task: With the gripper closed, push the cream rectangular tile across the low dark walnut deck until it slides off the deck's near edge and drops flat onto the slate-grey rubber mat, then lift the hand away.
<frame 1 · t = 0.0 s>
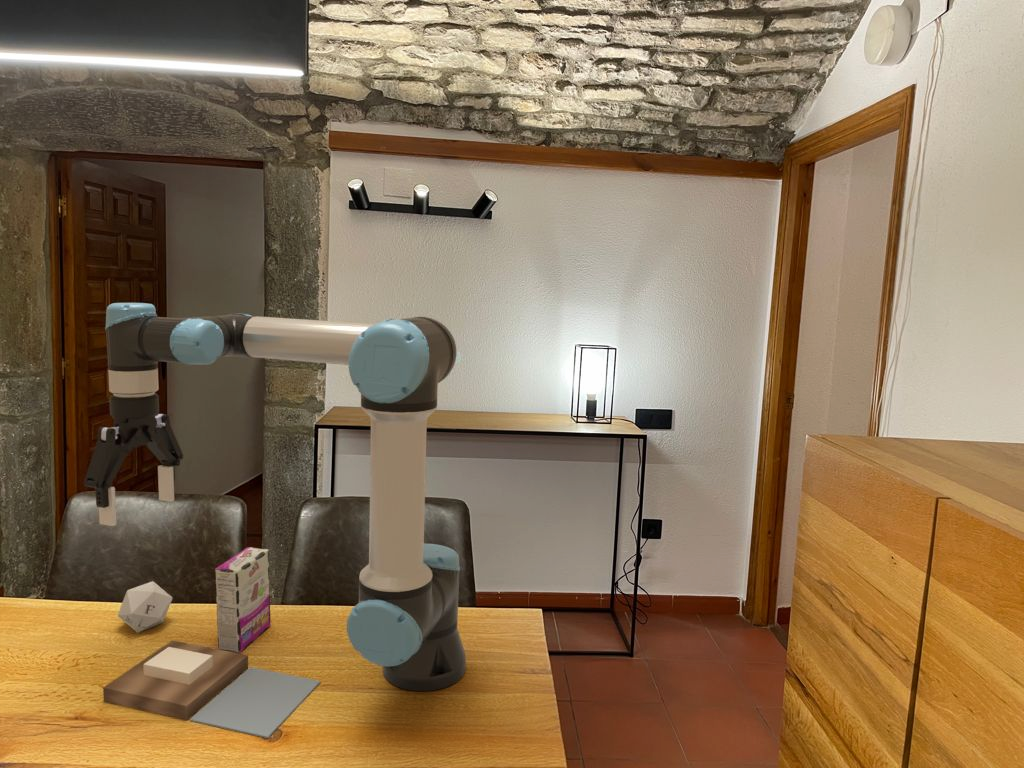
hand: (138, 512, 126), 28 cm above the table, fingers open, 13 cm apart
cream rectangular tile: (178, 670, 123), point 2 cm above the table, touching deck
deck: (179, 684, 123), on the table
mat: (258, 700, 119), on the table
candy bar box: (244, 638, 139), on the table
die: (146, 626, 142), on the table
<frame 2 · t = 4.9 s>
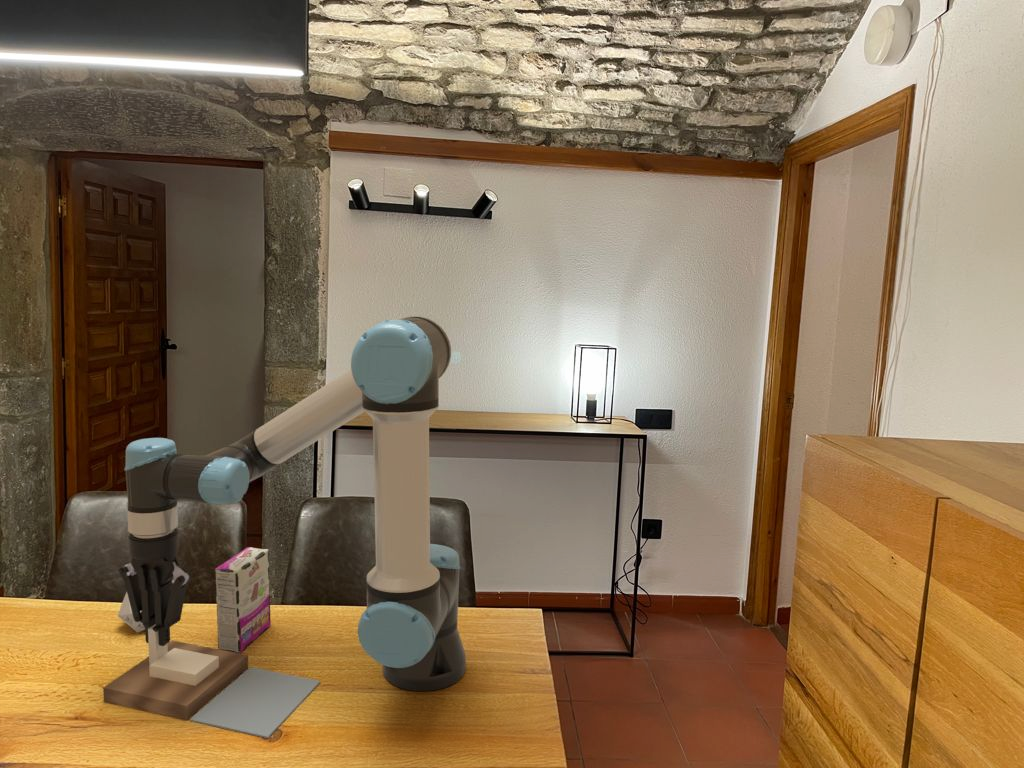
hand: (158, 660, 123), 4 cm above the table, fingers closed
cream rectangular tile: (184, 671, 122), point 3 cm above the table, touching deck
everything else where it was.
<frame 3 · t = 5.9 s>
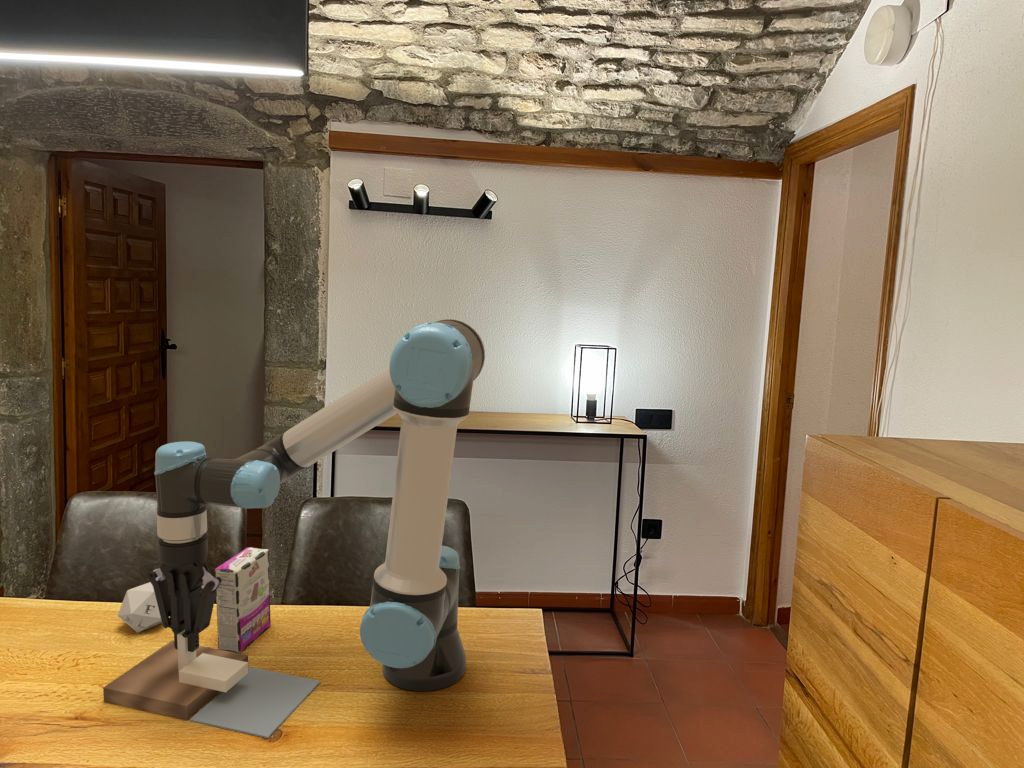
hand: (187, 666, 122), 4 cm above the table, fingers closed
cream rectangular tile: (214, 677, 121), point 3 cm above the table, touching gripper
everything else where it was.
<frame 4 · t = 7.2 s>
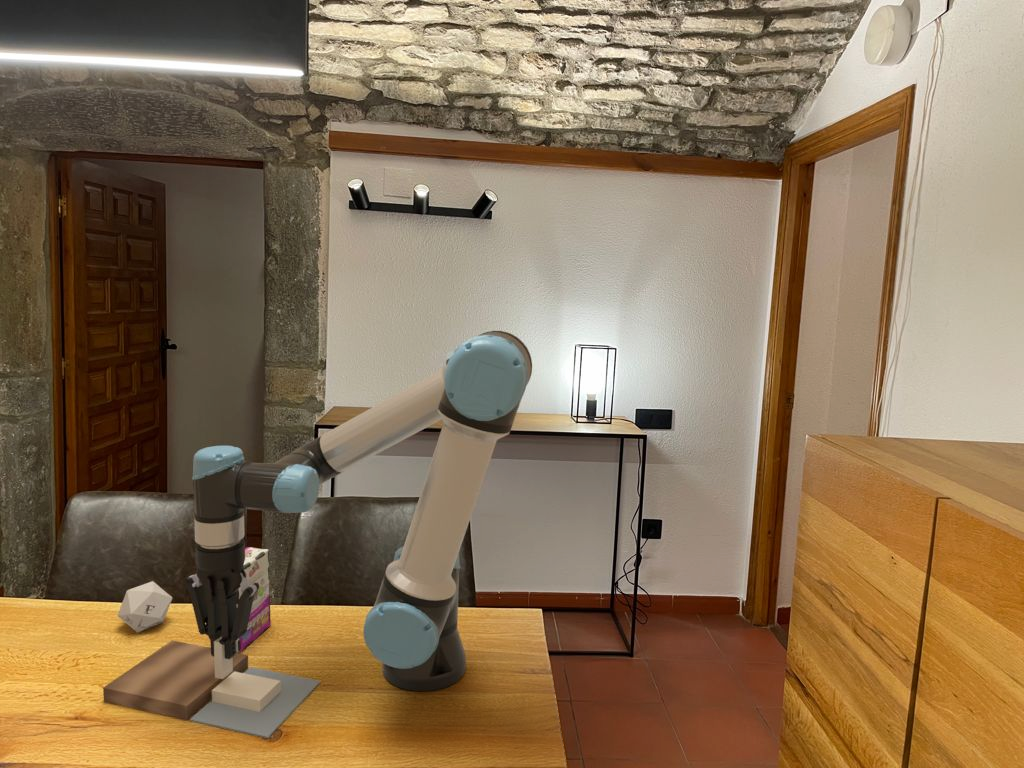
hand: (223, 674, 120), 4 cm above the table, fingers closed
cream rectangular tile: (246, 696, 120), resting on mat
everything else where it was.
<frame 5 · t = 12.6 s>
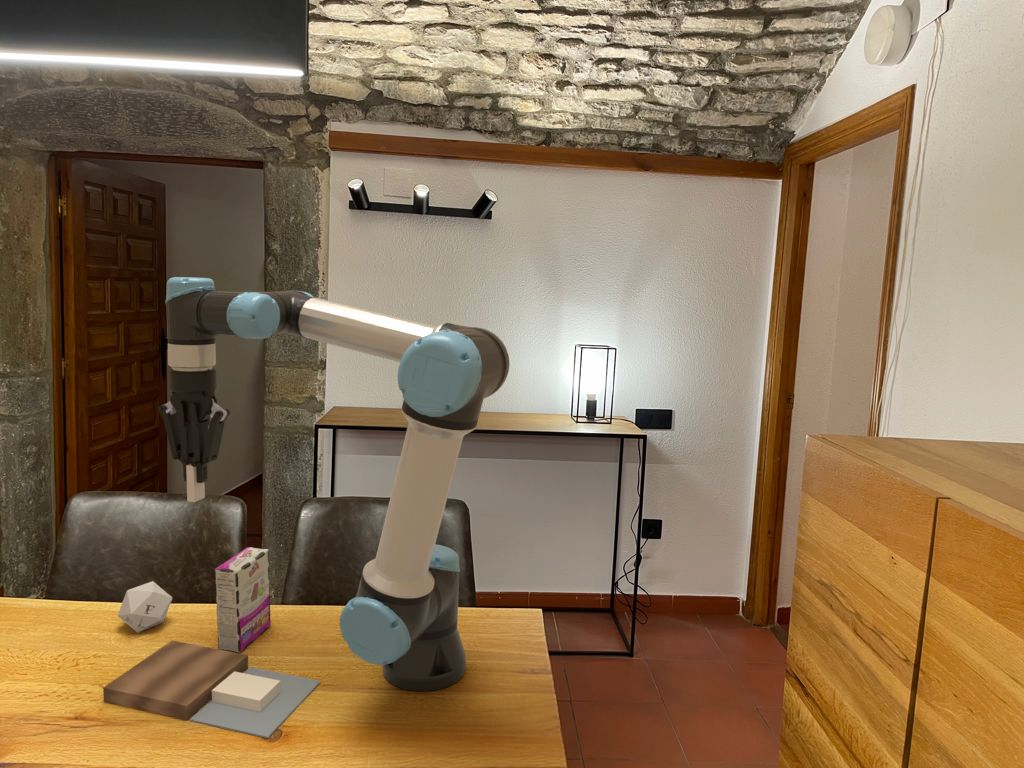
hand: (196, 499, 126), 30 cm above the table, fingers closed
nothing on the table moved.
at the end: cream rectangular tile inside the target area on the mat (2.3 cm from its centre), point 0.3 cm above the mat's base; cream rectangular tile resting on mat; the gripper is holding nothing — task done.
